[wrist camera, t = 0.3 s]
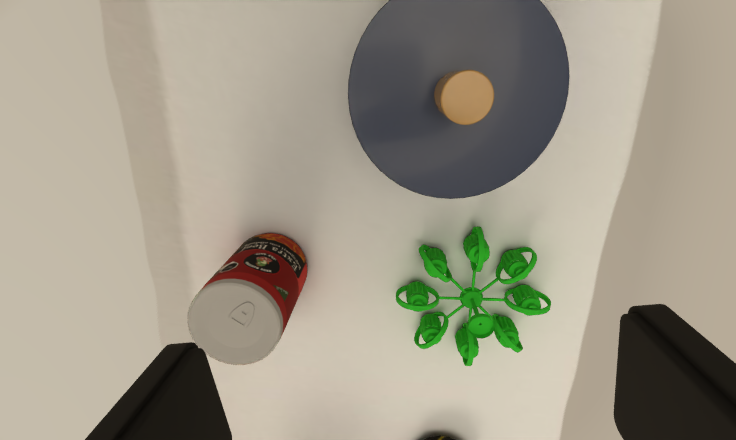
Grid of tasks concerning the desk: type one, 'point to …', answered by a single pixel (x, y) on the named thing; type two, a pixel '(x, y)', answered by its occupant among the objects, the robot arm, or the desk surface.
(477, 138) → the tin lid
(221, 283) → the canned food
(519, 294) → the chandelier
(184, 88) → the desk surface
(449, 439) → the tape measure
